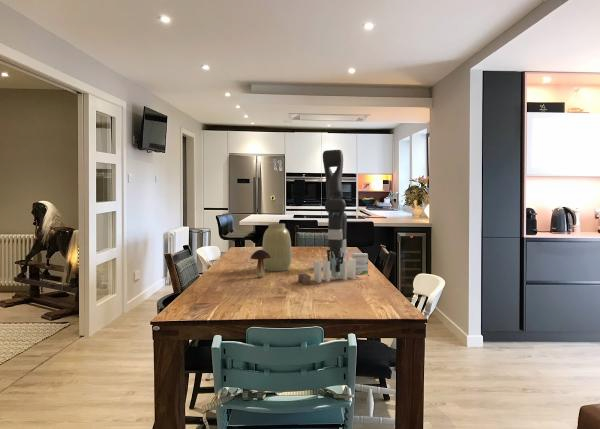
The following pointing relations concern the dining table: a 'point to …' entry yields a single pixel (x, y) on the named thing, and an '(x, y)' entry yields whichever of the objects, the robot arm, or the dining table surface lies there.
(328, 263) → the domino
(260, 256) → the decorative mushroom
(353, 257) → the ink box
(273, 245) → the vase
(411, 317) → the dining table surface
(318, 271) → the domino
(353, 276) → the domino
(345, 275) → the domino
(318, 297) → the dining table surface
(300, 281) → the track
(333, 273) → the domino
